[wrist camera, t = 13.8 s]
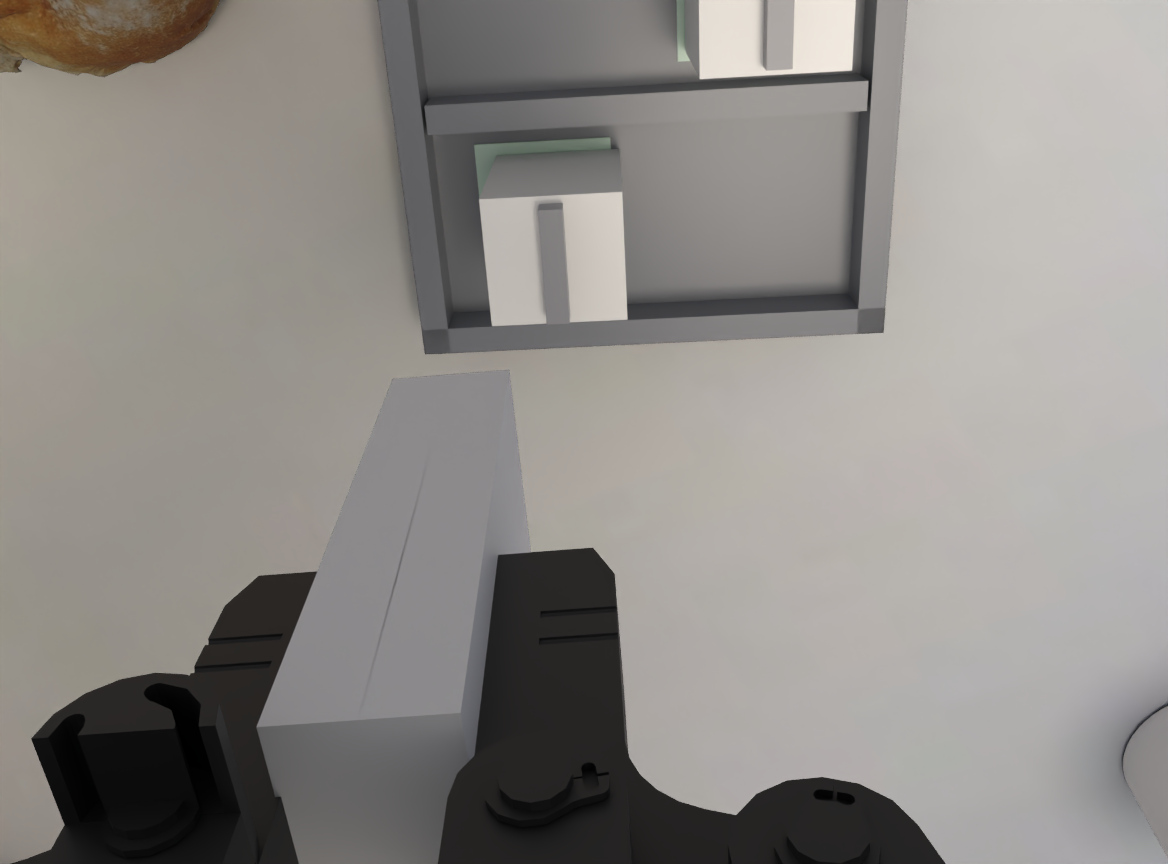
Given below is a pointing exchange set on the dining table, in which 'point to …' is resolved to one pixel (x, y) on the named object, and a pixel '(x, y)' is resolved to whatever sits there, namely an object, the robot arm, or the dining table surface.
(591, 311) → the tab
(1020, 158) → the dining table surface
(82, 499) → the dining table surface
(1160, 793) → the mug
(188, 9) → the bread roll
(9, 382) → the dining table surface
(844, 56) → the tab mid
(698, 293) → the switch bank
